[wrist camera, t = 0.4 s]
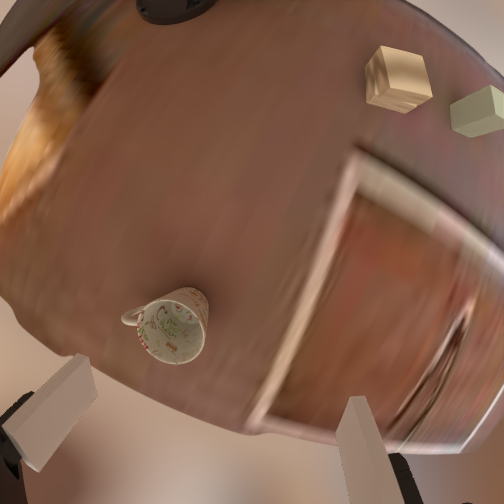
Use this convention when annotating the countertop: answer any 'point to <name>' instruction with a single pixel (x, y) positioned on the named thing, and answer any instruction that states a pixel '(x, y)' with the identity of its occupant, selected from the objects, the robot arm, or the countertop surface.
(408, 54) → the slab upper
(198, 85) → the countertop surface
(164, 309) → the mug
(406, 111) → the beige wooden block
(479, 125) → the pale green block
